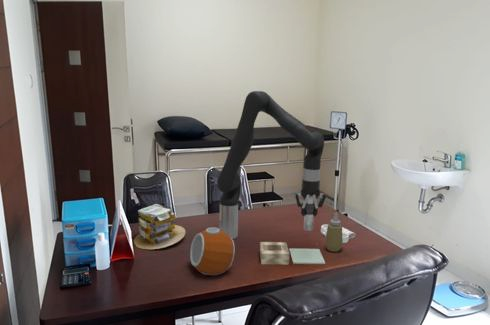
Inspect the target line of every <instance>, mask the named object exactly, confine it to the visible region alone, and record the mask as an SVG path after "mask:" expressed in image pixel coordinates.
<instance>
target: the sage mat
mask: <svg viewBox="0 0 490 325" xmlns="http://www.w3.org/2000/svg"><path fill="white" fill-rule="evenodd" d="M288 250H289V255H290V256H291V260H292V264H293V265H294V264H297V265H298V264H299V265H300V264H303V265H326V262H325V258H324V257H323V254H322V252H321V250H320V248H289V247H288Z"/></svg>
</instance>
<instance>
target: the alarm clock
mask: <svg viewBox="0 0 490 325" xmlns="http://www.w3.org/2000/svg"><path fill="white" fill-rule="evenodd" d="M235 248H236V247H235V242H234V239H232V238H230V236H229V235H228V234H227V233H225V232H223V231H221V230H219V227H215V226H213V227H207V228H206V229H204V230H202V231H201V232H198V233H196V234H195V236H194V237H193V240H192V242H191V245H190V250H189V251H190V253H189V256H190V264H191V265H192V266H193V267H194V268H195V269H196V270H197V271H198V272H200V273H201V274H203V275H207V276H208V275H209V276H218V275H219V276H220V275H221V274H224V273H225V272H226V271H228V270H229V269H230V268H231V267H232V264H233V262H234V257H235Z"/></svg>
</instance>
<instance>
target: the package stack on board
mask: <svg viewBox="0 0 490 325" xmlns="http://www.w3.org/2000/svg"><path fill="white" fill-rule="evenodd" d="M137 213H138V216H139V217H138V223H139V225H140V226H138V230H139V231H138V232H139V233H138V234H137V235H136V236H135V237H134V240H133V244H134V245H135V246H136V248H139V249H143V250H156V249H157V250H159V249H163V248H167V247H169V246H172V245H174V244H177V243H178V242H180V241H181V240H182V239H183V238H184V237H185V235H186V233H187V232H186V229H185V228H184V227H183V226H181V225H177V224H176V221H174V220H176V219H177V218H176V213H174V212H172V208H169V207H166V206H163V205H161V204H160V203H159V204H158V203H154V204H152V205H149V206H146V207H142V208H141V209H138V210H137Z"/></svg>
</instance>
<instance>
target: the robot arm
mask: <svg viewBox="0 0 490 325" xmlns="http://www.w3.org/2000/svg"><path fill="white" fill-rule="evenodd" d="M246 95H247V96H246V97H245V100H244V104H243V108H242V111H241V116H240V118H239V121H238V125H237V127H236V131H235V134H234V136H233V139H232V142H231V145H230V147H229V150H228V153H227V157H226V160H225V161H224V164H223V167H222V168H221V171H220V173H219V174H218V176H217V181H216V184H217V189H218V190H219V191H220V192H222V195H221V196H220V198H219V219H218V220H219V221H218V222H219V223H218V229H219V230H221V231H223V232H225V233H227V234H228V235H229V236H230V238H232V240H234V239H237V238H238V234H239V230H238V228H239V200H240V198H241V184H242V183H241V182H242V181H241V177H240V175H239V173H238V171H239V169H240V167H241V165H242V164H243V163H244V161H245V160H246V158H247V157H248V155H249V153H250V151H251V149H252V146H253V143H254V139H255V129H254V128H255V127H254V126H255V122H256V120H257V117H258V115H259V113H260V112H262V113H264V114H267V115H269V116H270V117H272V118H273V119H274V120H275V121H276V122H277V124H278V125H279V126H280V127H281V128H282V129H283V130H284V131H286V132H287V133H288V134H289V135H291V136H293V138H295V140H296V141H297V142H298V143H299V145H301V146H302V147H303V148H305V149H306V150H307V153H306V155H305V156H304V159H303V160H304V161H303V170H302V179H301V180H302V181H301V182H302V184H301V191H300V192H294V196H295V197H294V198H295V201H296V205H297V207H298V208H300V214H301V216H302V217H304V216H305V205H306V203H307V201H308V198H309V196H310V195H312V196H313V200H314V204H315V208H314V216H313V218H314V217H316V216H317V215H318V209H319V208H322V207H323V205H324V203H325V200H326V197H327V195H326V194H325V193H324V192H323V193H322V192H320V185H321V184H320V183H321V161H322V160H321V159H322V156H323V151H324V147H325V139H324V135H323V134H322V133H321V132H318V131H313V132H310V131H309V130H308V129H307V127H306V125H305V124H304V123H303V122H302V121H301V120H299V119H298V118H296V117H295V116H293V114H291V113H290V112H288V111H286V110H285V108H283V107H282V106H281V105H279V103H278V102H276V101H275V100H274V99H273V98H272V96H270V95H269V94H268V93H267V92H265V91H262V90H253V91H250V92H249V93H248V94H246ZM301 197H302V198H303V199H302V202H300V198H301ZM318 198H320V199H319V201H317V199H318Z"/></svg>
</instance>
